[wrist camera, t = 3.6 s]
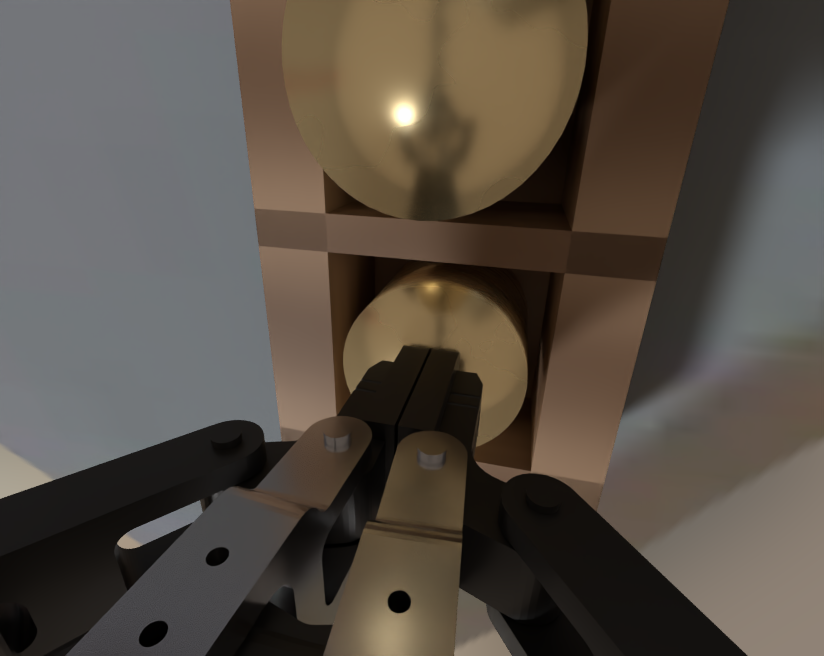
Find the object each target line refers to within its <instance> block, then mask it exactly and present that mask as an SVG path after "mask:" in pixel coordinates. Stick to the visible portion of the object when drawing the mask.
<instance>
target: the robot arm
mask: <svg viewBox="0 0 824 656" xmlns="http://www.w3.org/2000/svg"><path fill="white" fill-rule="evenodd" d="M459 364H460V352H454V351H446V350H438V349H432V350H431V349H430V348H422V347H414V346H407V345H404V346H403V347H402V349H401V350H400V352H399V354H398V355H397V357H396V359H395V361H394V362H391V361H384V360H382V361H380V362H379V363H377V364H375V365H374V366H372V367H370V368H369V369H368V370H367V372H366V373H365V375H364V376H363V378H362V380H361V381H360V382H359V384H358V385H357V386H356V389H355V390H354V391H353V392H352V394H351V395H350V397H349V398H348V400H347V401H346V403H345V404H344V406H343V407H342V409H341V410H340V412H339V413H338V415H337V416H334V417H329V418H325V419H322V420H320V421H318V422H316V423H314V424H313V425H311V426H310V427H309V428H308V429H307V430H306V431H305V432H304V434H303V435H302V436H301V437H300V438H299V439H298V440H296V441H281V442H265V440H264V433H263V430H262V428H261V427H260V426H259V425H257V424H255V423H253V422H250V421H244V420H232V421H225V422H221V423H218V424H215V425H212V426H209V427H206V428H203V429H200V430H197V431H194V432H192V433H189V434H186V435H183V436H180V437H177V438H174V439H171V440H169V441H166V442H163V443H160V444H157V445H154V446H151V447H148V448H146V449H143V450H140V451H137V452H134V453H131V454H128V455H125V456H123V457H120V458H117V459H114V460H111V461H108V462H105V463H102V464H99V465H97V466H94V467H91V468H88V469H85V470H82V471H79V472H76V473H74V474H71V475H68V476H65V477H62V478H59V479H56V480H53V481H51V482H48V483H45V484H42V485H39V486H36V487H34V488H30V489H28V490H25V491H22V492H19V493H16V494H13V495H10V496H7V497H4V498H2V499H0V656H454V648H455V634H456V620H457V606H458V592H459V588H461V589H463V590H464V591H466V592H468V593H469V594H471V595H473V596H474V597H476V598H478V599H479V600H481V601H483V602H484V603H486V606H487V612H488V615H489V618H490V620H491V622H492V624H493V625H494V627H495V629H496V630H497V632H498V634H499V635H500V637H501V638H502V640H503V642H504V643H505V645H506V647H507V648H508V650H509V651H510V653H511V655H512V656H747V655H746V654H745V653H744V652H743V651H742V650H741V649H740V648H739V647H738V646H737V645H736V644H735V643H734V642H733V641H731V640H730V639H729V638H728V637H727V636H726V635H725V634H724V633H723V632H722V631H721V630H720V629H719V628H718V627H717V626H716V625H715V624H714V623H713V622H712V621H711V620H710V619H708V618H707V617H706V616H705V615H704V614H703V613H702V612H701V611H700V610H699V609H698V608H697V607H696V606H695V605H694V604H693V603H692V602H691V601H690V600H688V599H687V598H686V597H685V596H684V595H683V594H682V593H681V592H680V591H679V590H678V589H677V588H676V587H675V586H674V585H673V584H672V583H671V582H670V581H668V579H666V578H665V577H664V576H663V575H662V574H661V573H660V572H659V571H658V570H657V569H656V568H655V567H654V566H653V565H652V564H651V563H649V561H648V560H647V559H645V558H644V557H643V556H642V555H641V554H640V553H639V552H638V551H637V550H636V549H635V548H634V547H633V546H632V545H631V544H630V543H629V542H628V541H627V540H626V539H624V538H623V537H622V536H621V535H620V534H619V533H618V532H617V531H616V530H615V529H614V528H613V527H612V526H611V525H610V524H609V523H608V522H607V521H606V520H605V519H603V518H602V517H601V516H600V515H599V514H598V513H597V512H596V511H595V510H594V509H593V508H592V507H591V506H590V505H589V504H588V503H587V502H586V501H585V500H584V499H582V498H581V497H580V496H579V495H578V494H577V493H576V492H575V491H574V490H573V489H572V488H571V487H569V486H568V485H567V484H565V483H564V482H562V481H560V480H558V479H556V478H553V477H550V476H547V475H543V474H536V473H528V474H521V475H517V476H515V477H513V478H511V479H510V480H508V481H507V482H504V481H501V480H499V479H497V478H495V477H493V476H491V475H489V474H488V473H486V472H485V471H484V470H483V469H481V468H480V466H479V465H478V464H477V463H476V461H475V460H474V454H475V448H476V442H477V437H478V429H479V419H480V410H481V400H482V391H483V383H482V382H481V380H480V378H479V376H478V374H477V373H472V372H465V371H459ZM199 500H200V502H201V506H202V511H203V513H202V514H201V515H200V516H199V517H198V518H197V519H196V520H195V521H194V522H193V523H191V524H188V525H186V526H184V527H182V528H180V529H177V530H175V531H173V532H171V533H169V534H167V535H164V536H162V537H160V538H158V539H156V540H153V541H151V542H149V543H147V544H145V545H142V546H140V547H137V548H133V549H124V548H121V547H119V546H118V545H117V542H118V541H119V539H120V538H121V537H122V536H123V535H125V534H126V533H127V532H129V531H130V530H132V529H134V528H136V527H139V526H141V525H143V524H146V523H148V522H150V521H153V520H155V519H157V518H159V517H162V516H164V515H166V514H169V513H171V512H173V511H176V510H178V509H180V508H183V507H185V506H187V505H190V504H192V503H194V502H196V501H199Z"/></svg>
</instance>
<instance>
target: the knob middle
mask: <svg viewBox="0 0 824 656" xmlns="http://www.w3.org/2000/svg"><path fill="white" fill-rule="evenodd" d="M587 43H588V23H587V8H586V1H585V0H287V3H286V9H285V14H284V20H283V32H282V67H283V74H284V82H285V88H286V92H287V96H288V100H289V105H290V108H291V111H292V114H293V117H294V119H295V122H296V125H297V127H298V129H299V132H300V134H301V136H302V138H303V140H304V142H305V144H306V146H307V147H308V149H309V150H310V152H311V154H312V155H313V157H314V158H315V160H316V161H317V162H318V164H319V165H320V166H321V167H322V169H323V170H324V171H325V172H326V174H327V175H328V176H329V177H330V178H331V179H332V180H333V181H334V182H335V183H336V184H337V185H338V186H339V187H340V188H342V189H343V190H344V191H345V192H347V193H348V194H349V195H351V196H352V197H353V198H355V199H356V200H358V201H360V202H361V203H363V204H365V205H366V206H368V207H370V208H372V209H375V210H377V211H379V212H382V213H384V214H387V215H391V216H394V217H398V218H401V219H409V220H416V221H440V220H447V219H454V218H458V217H462V216H465V215H469V214H472V213H474V212H477V211H479V210H482V209H484V208H486V207H489V206H490V205H492V204H494V203H496V202H497V201H499V200H501V199H503V198H504V197H506V196H507V195H508V194H510V193H511V192H512V191H514V190H515V189H516V188H518V187H519V186H520V185H521V184H522V183H524V182H525V181H526V180H527V179H528V178H529V177H530V176H531V175H532V174H533V173H534V172H535V171H536V170H537V169H538V167H539V166H540V165H541V164H542V162H543V161H544V160H545V159H546V157H547V156H548V155H549V154H550V152H551V151H552V149H553V147H554V146H555V144H556V143H557V141H558V139H559V138H560V136H561V135H562V133H563V131H564V129H565V127H566V124H567V122H568V120H569V118H570V116H571V114H572V112H573V109H574V106H575V103H576V100H577V97H578V94H579V91H580V87H581V83H582V78H583V74H584V69H585V64H586V53H587Z"/></svg>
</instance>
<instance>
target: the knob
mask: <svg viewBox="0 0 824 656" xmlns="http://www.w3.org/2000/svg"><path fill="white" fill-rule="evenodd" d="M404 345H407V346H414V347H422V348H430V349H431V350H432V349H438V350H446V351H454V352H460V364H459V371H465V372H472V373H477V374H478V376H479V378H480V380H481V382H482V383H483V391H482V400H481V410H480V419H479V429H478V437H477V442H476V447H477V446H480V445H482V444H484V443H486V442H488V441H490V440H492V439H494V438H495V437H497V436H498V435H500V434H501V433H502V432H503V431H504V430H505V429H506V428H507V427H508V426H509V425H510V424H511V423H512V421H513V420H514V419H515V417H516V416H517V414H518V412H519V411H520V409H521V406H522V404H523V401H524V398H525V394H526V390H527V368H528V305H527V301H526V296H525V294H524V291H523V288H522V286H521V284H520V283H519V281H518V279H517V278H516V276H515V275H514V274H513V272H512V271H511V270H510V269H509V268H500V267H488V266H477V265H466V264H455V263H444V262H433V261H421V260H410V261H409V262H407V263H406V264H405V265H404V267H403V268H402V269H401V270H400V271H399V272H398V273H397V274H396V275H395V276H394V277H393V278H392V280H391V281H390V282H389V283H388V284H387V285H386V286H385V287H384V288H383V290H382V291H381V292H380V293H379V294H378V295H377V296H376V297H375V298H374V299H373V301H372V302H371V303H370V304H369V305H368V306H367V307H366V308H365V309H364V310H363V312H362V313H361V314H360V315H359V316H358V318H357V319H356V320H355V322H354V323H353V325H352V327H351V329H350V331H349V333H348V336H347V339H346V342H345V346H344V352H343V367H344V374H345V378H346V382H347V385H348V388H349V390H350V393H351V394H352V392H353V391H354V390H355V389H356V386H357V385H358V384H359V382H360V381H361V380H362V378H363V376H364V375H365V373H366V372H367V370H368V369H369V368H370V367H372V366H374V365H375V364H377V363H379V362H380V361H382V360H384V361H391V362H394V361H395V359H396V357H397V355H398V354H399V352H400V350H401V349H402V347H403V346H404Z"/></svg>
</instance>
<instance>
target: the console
mask: <svg viewBox="0 0 824 656" xmlns="http://www.w3.org/2000/svg"><path fill="white" fill-rule="evenodd" d="M585 1H586V8H587V23H588V43H587V53H586V64H585V69H584V74H583V78H582V83H581V87H580V91H579V94H578V97H577V100H576V103H575V106H574V109H573V112H572V114H571V116H570V118H569V120H568V122H567V124H566V127H565V129H564V131H563V133H562V135H561V136H560V138H559V139H558V141H557V143H556V144H555V146H554V147H553V149H552V151H551V152H550V154H549V155H548V156H547V157H546V159H545V160H544V161H543V162H542V164H541V165H540V166H539V167H538V169H537V170H536V171H535V172H534V173H533V174H532V175H531V176H530V177H529V178H528V179H527V180H526V181H525V182H524V183H522V184H521V185H520V186H519V187H518V188H516V189H515V190H514V191H512V192H511V193H510V194H508V195H507V196H506V197H504V198H503V199H501V200H499V201H497V202H496V203H494V204H492V205H490V206H489V207H486V208H484V209H482V210H479V211H477V212H474V213H472V214H469V215H465V216H462V217H458V218H454V219H447V220H440V221H416V220H409V219H401V218H398V217H394V216H391V215H387V214H384V213H382V212H379V211H377V210H375V209H372V208H370V207H368V206H366V205H365V204H363V203H361V202H360V201H358V200H356V199H355V198H353V197H352V196H351V195H349V194H348V193H347V192H345V191H344V190H343V189H342V188H340V187H339V186H338V185H337V184H336V183H335V182H334V181H333V180H332V179H331V178H330V177H329V176H328V175H327V174H326V172H325V171H324V170H323V169H322V167H321V166H320V165H319V164H318V162H317V161H316V160H315V158H314V157H313V155H312V154H311V152H310V150H309V149H308V147H307V146H306V144H305V142H304V140H303V138H302V136H301V134H300V132H299V129H298V127H297V125H296V122H295V119H294V117H293V114H292V111H291V108H290V105H289V100H288V96H287V92H286V88H285V82H284V74H283V67H282V32H283V20H284V14H285V9H286V3H287V0H230V4H231V13H232V21H233V30H234V38H235V47H236V55H237V64H238V73H239V81H240V90H241V98H242V107H243V115H244V124H245V132H246V141H247V149H248V158H249V166H250V175H251V183H252V192H253V200H254V209H255V217H256V226H257V234H258V243H259V251H260V260H261V268H262V277H263V285H264V294H265V302H266V311H267V319H268V328H269V336H270V345H271V353H272V362H273V371H274V379H275V388H276V396H277V405H278V413H279V422H280V430H281V439H282V441H296V440H298V439H299V438H300V437H301V436H302V435H303V434H304V432H305V431H306V430H307V429H308V428H309V427H310V426H311V425H313V424H314V423H316V422H318V421H320V420H322V419H325V418H329V417H334V416H337V415H338V413H339V412H340V410H341V409H342V407H343V406H344V404H345V403H346V401H347V400H348V398H349V397H350V395H351V393H350V390H349V388H348V385H347V382H346V378H345V374H344V367H343V352H344V346H345V342H346V339H347V336H348V333H349V331H350V329H351V327H352V325H353V323H354V322H355V320H356V319H357V318H358V316H359V315H360V314H361V313H362V312H363V310H364V309H365V308H366V307H367V306H368V305H369V304H370V303H371V302H372V301H373V299H374V298H375V297H376V296H377V295H378V294H379V293H380V292H381V291H382V290H383V288H384V287H385V286H386V285H387V284H388V283H389V282H390V281H391V280H392V278H393V277H394V276H395V275H396V274H397V273H398V272H399V271H400V270H401V269H402V268H403V267H404V265H405V264H406V263H407V262H409V261H410V260H421V261H433V262H444V263H455V264H466V265H477V266H488V267H500V268H509V269H510V270H511V271H512V272H513V274H514V275H515V276H516V278H517V279H518V281H519V283H520V284H521V286H522V288H523V291H524V294H525V296H526V301H527V305H528V368H527V390H526V394H525V398H524V401H523V404H522V406H521V409H520V411H519V412H518V414H517V416H516V417H515V419H514V420H513V421H512V423H511V424H510V425H509V426H508V427H507V428H506V429H505V430H504V431H503V432H502V433H501V434H500V435H498V436H497V437H495V438H494V439H492V440H490V441H488V442H486V443H484V444H482V445H480V446H477V447H476V448H475V454H474V460H475V461H476V463H477V464H478V465H479V466H480V468H481V469H483V470H484V471H485V472H486V473H488V474H489V475H491V476H493V477H495V478H497V479H499V480H501V481H504V482H507V481H508V480H510V479H511V478H513V477H515V476H517V475H521V474H528V473H536V474H543V475H547V476H550V477H553V478H556V479H558V480H560V481H562V482H564V483H565V484H567V485H568V486H569V487H571V488H572V489H573V490H574V491H575V492H576V493H577V494H578V495H579V496H580V497H581V498H582V499H584V500H585V501H586V502H587V503H588V504H589V505H590V506H591V507H592V508H593V509H594V510H595V511H596V512H597V508H598V504H599V500H600V497H601V493H602V489H603V485H604V481H605V477H606V473H607V470H608V466H609V462H610V458H611V454H612V450H613V447H614V443H615V439H616V435H617V431H618V427H619V423H620V420H621V416H622V412H623V408H624V404H625V400H626V396H627V393H628V389H629V385H630V381H631V377H632V373H633V370H634V366H635V362H636V358H637V354H638V350H639V346H640V343H641V339H642V335H643V331H644V327H645V323H646V320H647V316H648V312H649V308H650V304H651V300H652V296H653V293H654V289H655V285H656V281H657V277H658V273H659V269H660V266H661V262H662V258H663V254H664V250H665V246H666V243H667V239H668V235H669V231H670V227H671V223H672V219H673V216H674V212H675V208H676V204H677V200H678V196H679V193H680V189H681V185H682V181H683V177H684V173H685V169H686V166H687V162H688V158H689V154H690V150H691V146H692V142H693V139H694V135H695V131H696V127H697V123H698V119H699V116H700V112H701V108H702V104H703V100H704V96H705V92H706V89H707V85H708V81H709V77H710V73H711V69H712V66H713V62H714V58H715V54H716V50H717V46H718V42H719V39H720V35H721V31H722V27H723V23H724V19H725V15H726V12H727V8H728V4H729V0H585Z"/></svg>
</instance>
